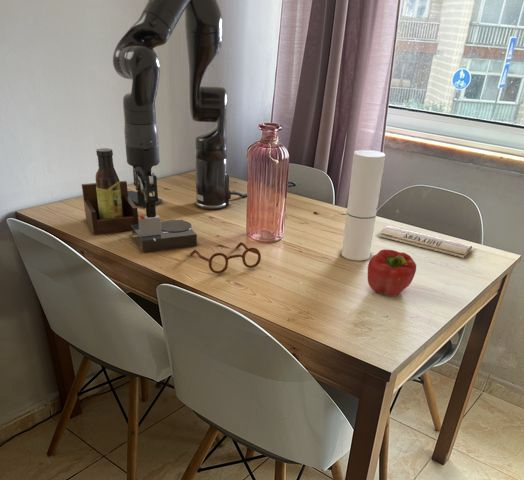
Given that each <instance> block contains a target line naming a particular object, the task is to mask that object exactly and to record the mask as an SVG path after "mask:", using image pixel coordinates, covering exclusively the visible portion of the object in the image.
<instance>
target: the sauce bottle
mask: <svg viewBox="0 0 524 480" xmlns="http://www.w3.org/2000/svg"><path fill="white" fill-rule="evenodd" d="M95 153H96V156H97V163H98V165H97V167H98V169H97V171H96V173H95V183H96V191H97V199H98V208H99V217H100V219H110V218H119V217H123V211H122V200H121V190H120V181H121V180H120V177H119V176H118V174H117V171H116V169H115V167H114V166H115V165H114V158H113V156H114V152H113V149H111V148H109V147H108V148H107V147H102V148H97V149H96V152H95Z"/></svg>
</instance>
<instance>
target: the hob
mask: <svg viewBox="0 0 524 480" xmlns="http://www.w3.org/2000/svg"><path fill="white" fill-rule="evenodd" d="M161 222H162V221H160V223H161ZM130 232H131V233H130V234H131V237H132V239H133V240H134V241H135V243H136V245H137V246H138V247H139V249H140V250H141V251H142V253H149V252H156V251H165V250H172V249H180V248H181V249H182V248H188V247H197V246H198V236H197V233H196V232H195V231H194V229H192V227H191V228H190V229H189V230H186V231H182V232H167V231H163V230H161V235H153V236H145V237H141V235H140V232H139V224H135V225H131V230H130Z"/></svg>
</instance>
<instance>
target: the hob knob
mask: <svg viewBox="0 0 524 480" xmlns="http://www.w3.org/2000/svg"><path fill="white" fill-rule="evenodd" d="M138 222H139V232H140V235H141V237H145V236H153V235H161V224H160V222H161V217H160V215H159V214H156V217H152V218H148V217H147V216H146V215H138Z"/></svg>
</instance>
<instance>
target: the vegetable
mask: <svg viewBox="0 0 524 480" xmlns="http://www.w3.org/2000/svg"><path fill="white" fill-rule="evenodd" d="M416 272H417V264H416V262H415V261H414V259H413V258H412V257H411V255H410V254H407V253H406V252H399V251H397V250H394V249H389V248H388V249H387V248H385V249H381V250H378V252H377V253H376V254H374V255H372V257H370V258H369V261H368V265H367V283H368V286H369V288H370V289H371V290H372V291H373V292H374V293H377V294H383V293H384V294H385V295H386V296H389V297H395V296H399V295H400V294H401V293H403V291H404V290H405V289H406V288H408V287H409V286H410V285H411V283H412V282H413V280H414V277H415V275H416Z"/></svg>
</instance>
